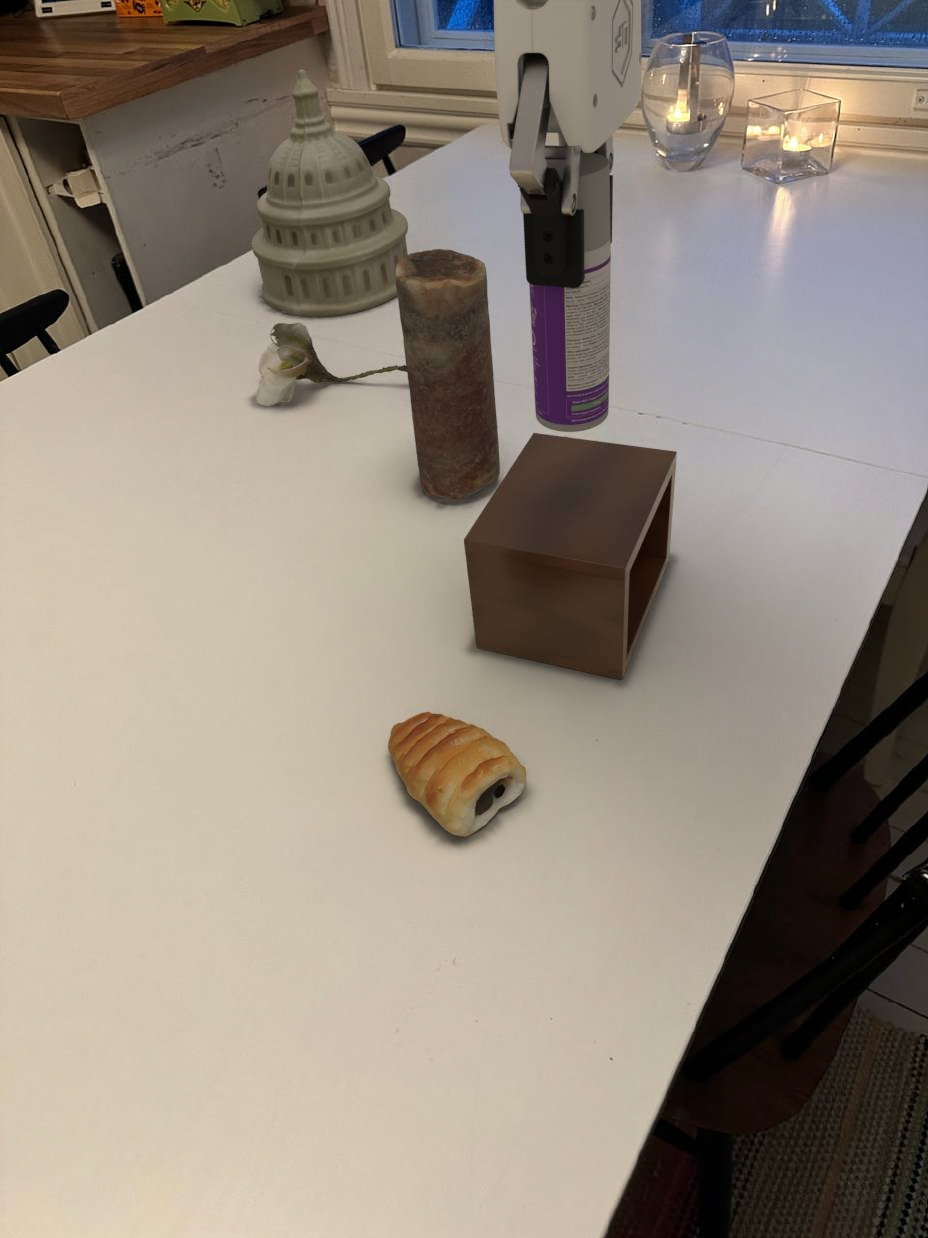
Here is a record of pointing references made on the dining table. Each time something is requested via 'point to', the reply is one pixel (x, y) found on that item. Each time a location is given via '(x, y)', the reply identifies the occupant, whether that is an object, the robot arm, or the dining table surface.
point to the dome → (325, 221)
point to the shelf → (572, 552)
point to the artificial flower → (295, 365)
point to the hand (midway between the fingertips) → (570, 261)
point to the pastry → (455, 770)
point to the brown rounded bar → (449, 370)
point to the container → (577, 318)
